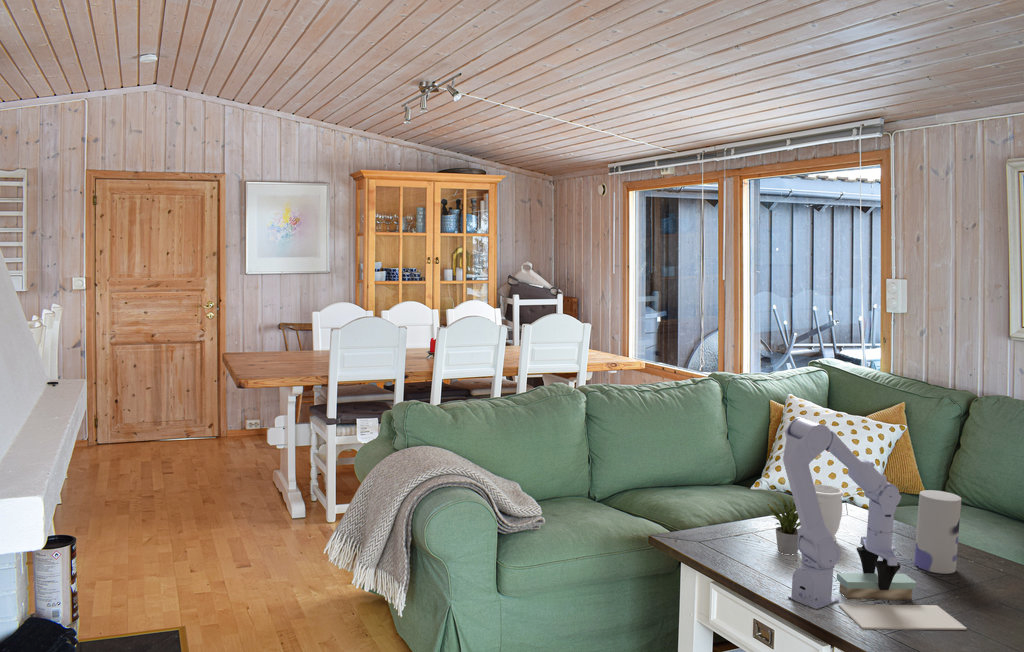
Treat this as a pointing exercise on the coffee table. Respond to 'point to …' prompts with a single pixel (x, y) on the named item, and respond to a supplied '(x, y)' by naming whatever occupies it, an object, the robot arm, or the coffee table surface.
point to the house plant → (786, 528)
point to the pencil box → (876, 594)
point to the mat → (901, 617)
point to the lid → (874, 581)
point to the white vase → (830, 506)
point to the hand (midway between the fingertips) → (876, 583)
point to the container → (937, 531)
